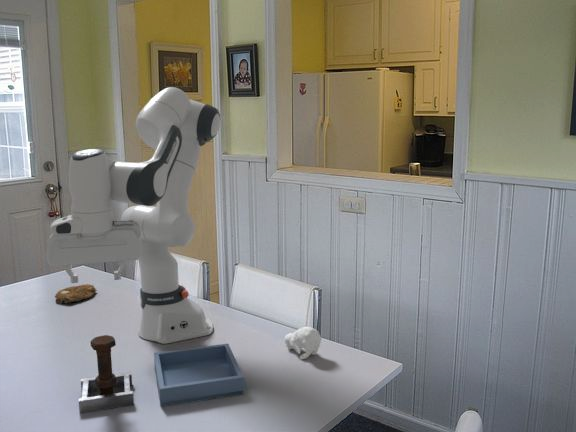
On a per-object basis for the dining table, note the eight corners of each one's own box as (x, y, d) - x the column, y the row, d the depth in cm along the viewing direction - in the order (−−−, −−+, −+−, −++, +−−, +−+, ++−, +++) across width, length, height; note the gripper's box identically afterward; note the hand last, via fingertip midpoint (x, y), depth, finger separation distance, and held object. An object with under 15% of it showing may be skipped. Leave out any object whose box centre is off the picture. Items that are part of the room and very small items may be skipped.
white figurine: (306, 332, 154) (277, 324, 163) (308, 363, 155) (279, 352, 164) (322, 326, 158) (293, 318, 167) (324, 356, 159) (295, 346, 168)
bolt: (121, 392, 141) (118, 334, 137) (116, 402, 136) (112, 343, 133) (98, 392, 140) (93, 335, 137) (91, 403, 135) (87, 344, 132)
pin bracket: (132, 383, 145) (131, 372, 144) (133, 405, 135) (132, 393, 134) (81, 390, 141) (81, 379, 141) (79, 413, 131) (78, 401, 131)
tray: (228, 358, 158) (228, 343, 157) (244, 394, 140) (243, 377, 139) (154, 368, 153) (153, 352, 152) (160, 406, 134) (159, 389, 133)
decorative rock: (82, 290, 216) (49, 304, 203) (80, 280, 215) (47, 293, 202) (104, 293, 210) (71, 308, 197) (102, 283, 209) (69, 297, 196)
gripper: (139, 217, 135) (142, 273, 138) (46, 221, 130) (51, 280, 132) (140, 222, 129) (143, 281, 132) (42, 227, 124) (47, 288, 126)
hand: (96, 280), depth 132 cm, fingers open, 8 cm apart
